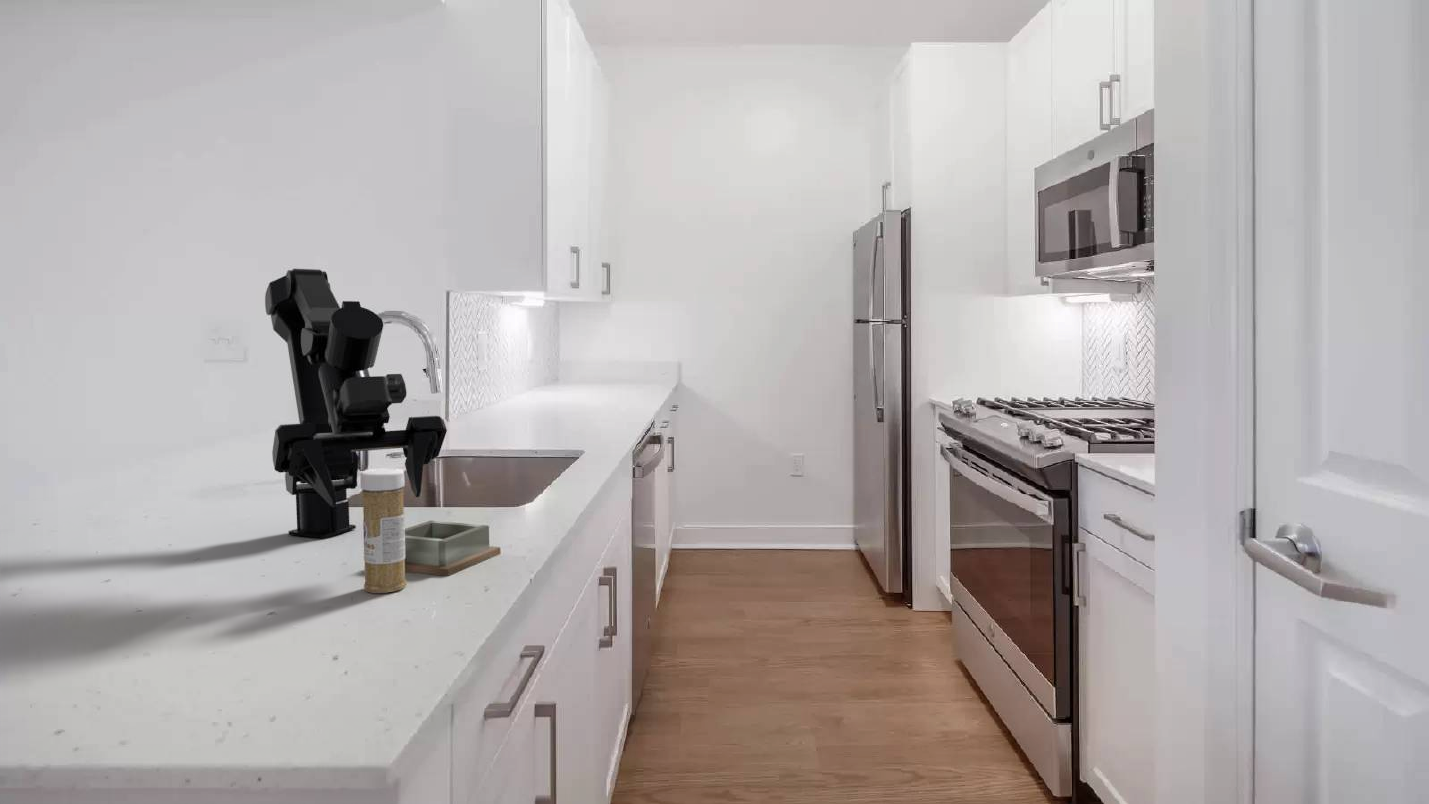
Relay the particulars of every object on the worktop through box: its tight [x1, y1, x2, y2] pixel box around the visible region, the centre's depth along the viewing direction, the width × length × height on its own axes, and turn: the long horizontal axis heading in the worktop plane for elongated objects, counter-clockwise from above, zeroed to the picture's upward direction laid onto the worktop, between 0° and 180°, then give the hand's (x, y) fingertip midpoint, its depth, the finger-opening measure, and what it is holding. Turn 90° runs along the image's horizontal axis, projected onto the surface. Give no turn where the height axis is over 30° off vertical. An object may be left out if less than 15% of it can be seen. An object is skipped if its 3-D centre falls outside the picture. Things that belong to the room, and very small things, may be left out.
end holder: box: [405, 520, 501, 577], centre depth 109 cm, size 11×11×4 cm
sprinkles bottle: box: [359, 467, 407, 594], centre depth 97 cm, size 5×5×13 cm
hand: (377, 499), depth 99 cm, fingers open, 9 cm apart
